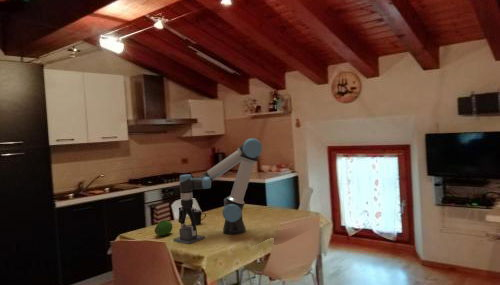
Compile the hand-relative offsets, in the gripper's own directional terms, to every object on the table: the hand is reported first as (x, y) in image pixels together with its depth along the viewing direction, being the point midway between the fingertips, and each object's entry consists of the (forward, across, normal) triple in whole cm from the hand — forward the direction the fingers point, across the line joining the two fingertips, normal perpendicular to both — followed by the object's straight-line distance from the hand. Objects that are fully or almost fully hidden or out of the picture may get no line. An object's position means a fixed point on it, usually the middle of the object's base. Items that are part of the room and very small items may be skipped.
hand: (189, 234), depth 241 cm
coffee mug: (+3, -24, +31) cm, 39 cm away
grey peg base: (+3, 0, 0) cm, 3 cm away
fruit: (+3, -24, -1) cm, 24 cm away
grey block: (+2, 0, 0) cm, 2 cm away
